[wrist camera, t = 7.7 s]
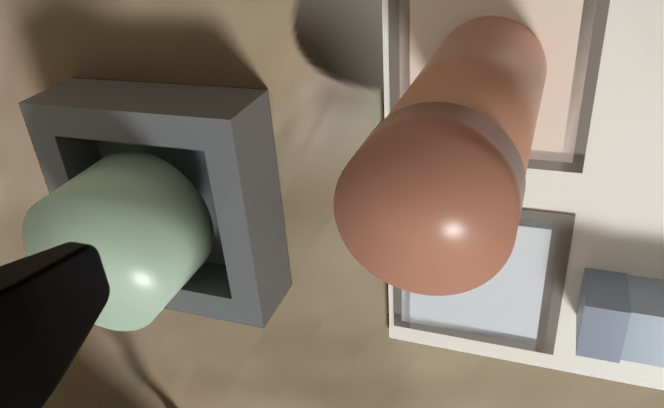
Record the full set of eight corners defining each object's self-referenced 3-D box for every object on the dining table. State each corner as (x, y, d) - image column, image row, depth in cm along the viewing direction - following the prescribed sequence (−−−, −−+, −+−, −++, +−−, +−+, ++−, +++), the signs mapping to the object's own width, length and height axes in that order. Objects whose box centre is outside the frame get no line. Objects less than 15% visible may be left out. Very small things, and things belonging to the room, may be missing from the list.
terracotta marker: (554, 14, 15) (525, 144, 9) (542, 128, 17) (509, 309, 10) (433, 13, 16) (327, 128, 10) (432, 120, 18) (339, 280, 11)
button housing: (267, 89, 20) (230, 119, 18) (291, 284, 24) (263, 328, 22) (71, 78, 22) (18, 103, 20) (123, 255, 26) (83, 292, 24)
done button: (200, 157, 19) (139, 207, 16) (224, 283, 22) (175, 344, 19) (73, 144, 21) (0, 188, 18) (109, 262, 23) (50, 316, 21)
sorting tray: (1017, -81, 12) (1028, -80, 12) (792, 408, 19) (796, 417, 19) (383, -64, 16) (379, -62, 16) (391, 332, 23) (389, 338, 23)
